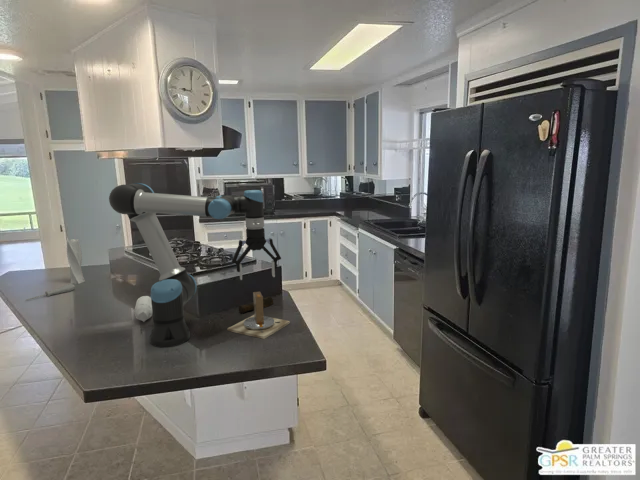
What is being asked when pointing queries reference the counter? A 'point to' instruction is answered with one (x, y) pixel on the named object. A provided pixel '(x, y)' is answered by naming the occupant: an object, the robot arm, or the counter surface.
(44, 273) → the counter surface
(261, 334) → the dial plate
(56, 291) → the screwdriver
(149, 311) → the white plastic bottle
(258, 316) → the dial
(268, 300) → the hand tool
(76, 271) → the skyscraper
